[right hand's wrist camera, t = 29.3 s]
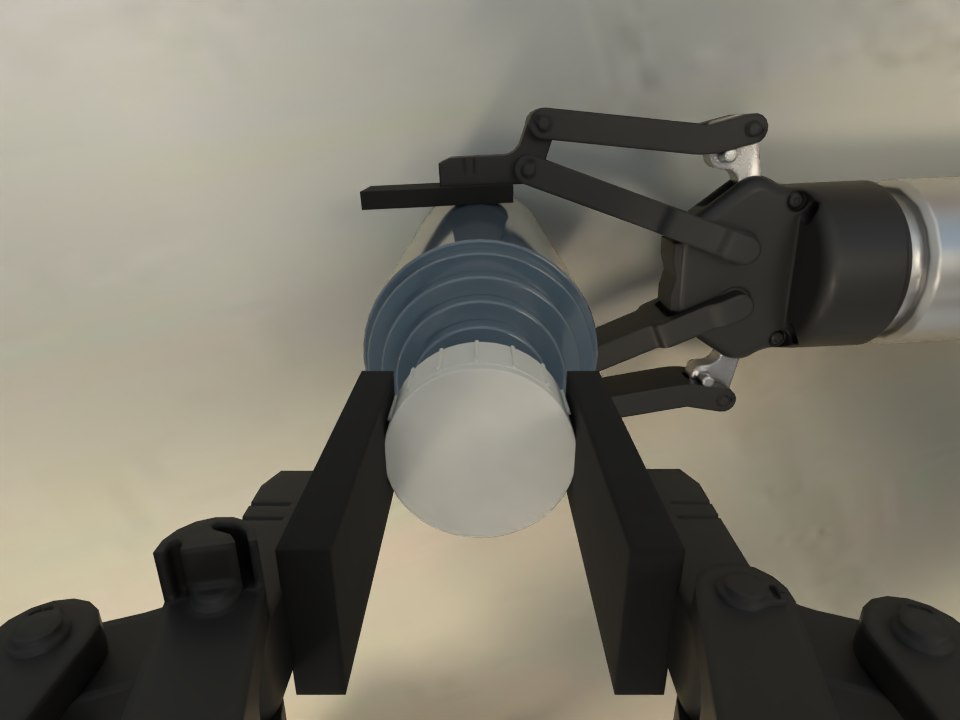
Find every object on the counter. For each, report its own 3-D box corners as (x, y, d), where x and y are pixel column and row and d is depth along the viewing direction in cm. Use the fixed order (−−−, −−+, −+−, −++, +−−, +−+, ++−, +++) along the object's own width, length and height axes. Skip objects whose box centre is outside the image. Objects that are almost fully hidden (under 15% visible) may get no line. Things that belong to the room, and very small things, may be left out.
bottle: (411, 189, 33) (303, 285, 13) (547, 187, 33) (653, 280, 13) (418, 319, 35) (337, 567, 15) (544, 317, 35) (627, 564, 15)
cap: (548, 507, 16) (556, 550, 14) (384, 484, 15) (373, 526, 14) (584, 354, 14) (598, 384, 12) (402, 327, 14) (393, 353, 12)
